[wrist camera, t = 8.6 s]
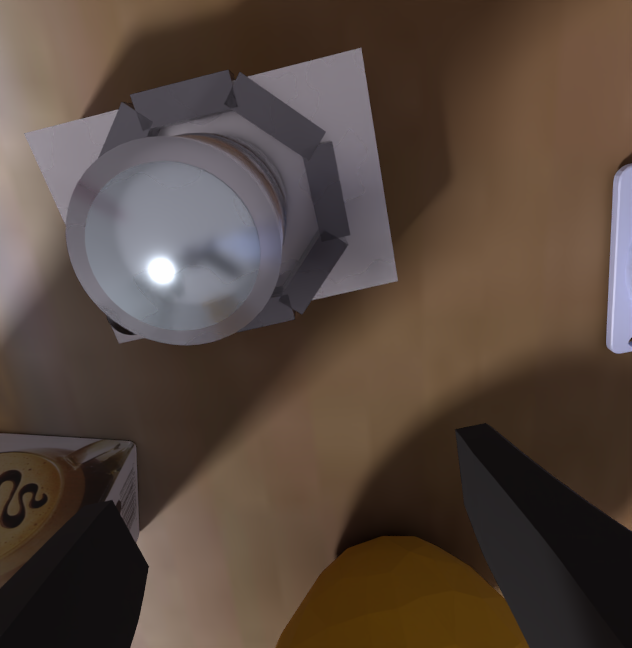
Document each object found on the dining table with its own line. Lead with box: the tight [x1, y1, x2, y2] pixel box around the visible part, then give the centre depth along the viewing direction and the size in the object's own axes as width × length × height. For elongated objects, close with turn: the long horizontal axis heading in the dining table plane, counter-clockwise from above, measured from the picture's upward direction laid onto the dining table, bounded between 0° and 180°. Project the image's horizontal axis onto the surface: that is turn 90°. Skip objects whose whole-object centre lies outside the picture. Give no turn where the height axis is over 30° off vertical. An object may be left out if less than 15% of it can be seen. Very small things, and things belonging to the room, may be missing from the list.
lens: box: [66, 133, 287, 345], centre depth 11 cm, size 4×4×6 cm
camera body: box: [24, 48, 398, 344], centre depth 15 cm, size 10×7×4 cm
